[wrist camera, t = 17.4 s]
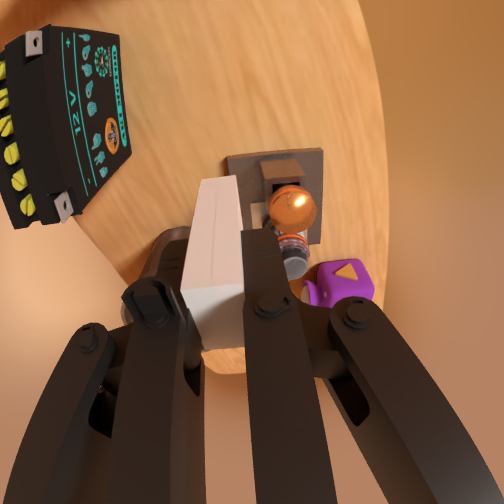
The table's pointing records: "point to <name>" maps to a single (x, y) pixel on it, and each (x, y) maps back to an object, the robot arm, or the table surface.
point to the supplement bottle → (291, 250)
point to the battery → (59, 122)
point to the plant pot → (153, 263)
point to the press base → (276, 172)
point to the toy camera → (338, 283)
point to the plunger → (291, 208)
